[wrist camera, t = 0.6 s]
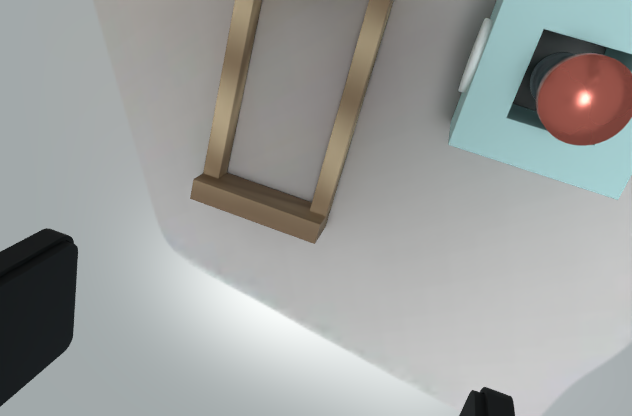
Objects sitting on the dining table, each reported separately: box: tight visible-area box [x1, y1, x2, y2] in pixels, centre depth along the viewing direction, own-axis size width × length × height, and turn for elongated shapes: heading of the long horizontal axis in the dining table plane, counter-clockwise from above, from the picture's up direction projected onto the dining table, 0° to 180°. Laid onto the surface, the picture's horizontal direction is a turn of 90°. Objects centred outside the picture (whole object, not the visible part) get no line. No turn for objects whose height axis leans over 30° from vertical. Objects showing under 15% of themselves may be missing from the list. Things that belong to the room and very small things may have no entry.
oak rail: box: [190, 0, 393, 244], centre depth 33 cm, size 21×9×3 cm, turn 165°
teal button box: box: [448, 0, 632, 200], centre depth 28 cm, size 9×9×6 cm
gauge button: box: [530, 52, 632, 146], centre depth 25 cm, size 4×4×7 cm
